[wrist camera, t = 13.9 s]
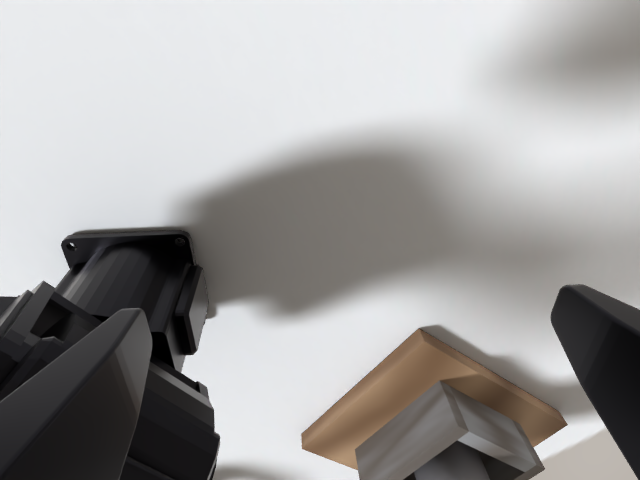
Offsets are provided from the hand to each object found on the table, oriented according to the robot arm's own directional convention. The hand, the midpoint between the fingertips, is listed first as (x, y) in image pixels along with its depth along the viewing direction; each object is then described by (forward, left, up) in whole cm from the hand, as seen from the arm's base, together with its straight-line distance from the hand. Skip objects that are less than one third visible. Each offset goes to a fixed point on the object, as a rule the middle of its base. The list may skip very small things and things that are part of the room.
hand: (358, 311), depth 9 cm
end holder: (+9, -23, -13) cm, 28 cm away
